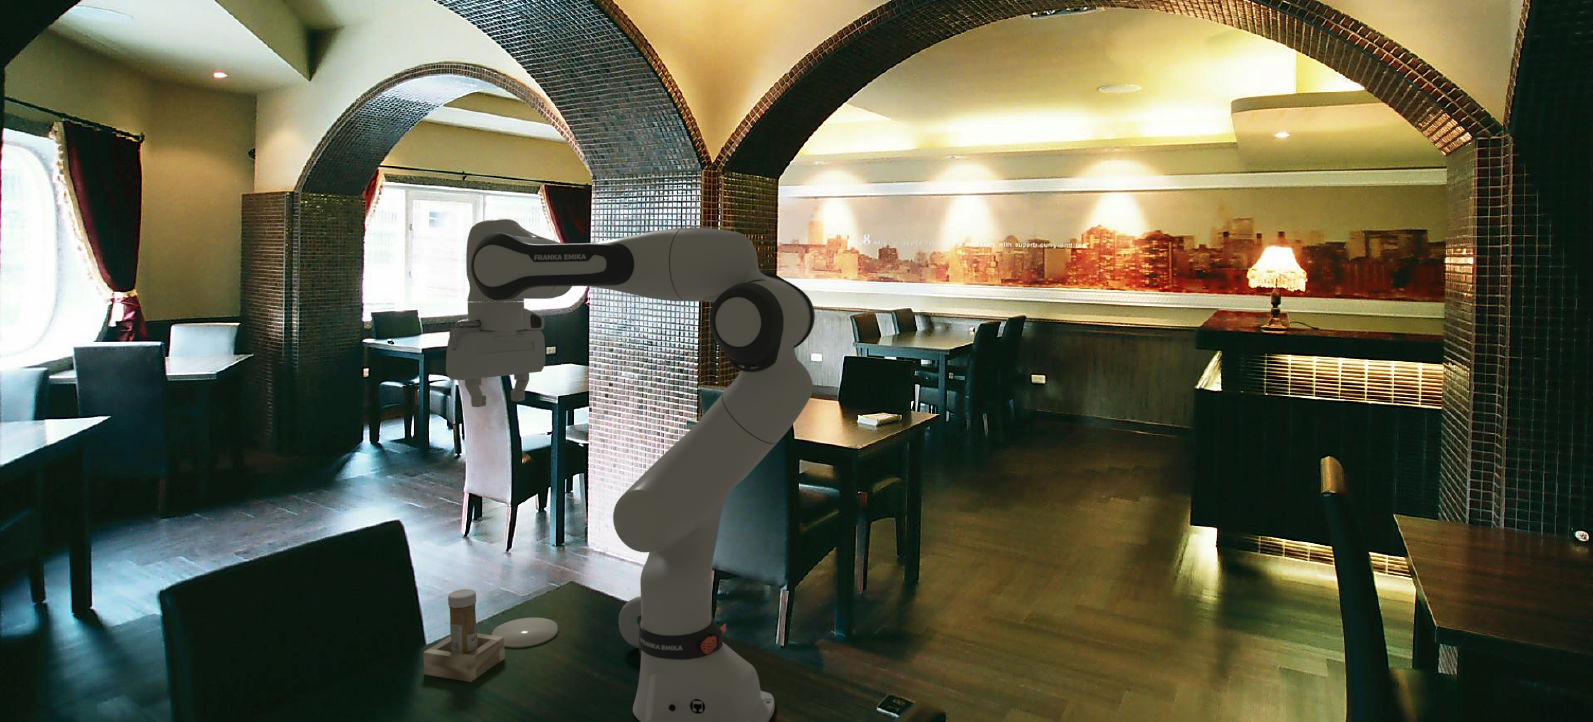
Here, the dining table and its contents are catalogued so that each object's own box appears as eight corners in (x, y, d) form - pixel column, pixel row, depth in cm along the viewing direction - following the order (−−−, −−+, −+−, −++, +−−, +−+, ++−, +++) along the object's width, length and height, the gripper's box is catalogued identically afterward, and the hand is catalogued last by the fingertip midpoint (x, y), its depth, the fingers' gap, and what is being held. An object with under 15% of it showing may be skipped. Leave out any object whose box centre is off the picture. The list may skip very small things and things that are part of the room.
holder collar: (504, 658, 163) (503, 637, 163) (470, 682, 154) (469, 659, 154) (460, 651, 166) (459, 630, 166) (424, 674, 157) (423, 652, 157)
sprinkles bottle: (482, 668, 160) (478, 594, 158) (455, 674, 157) (451, 599, 156) (475, 658, 163) (471, 586, 162) (448, 664, 161) (445, 591, 159)
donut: (616, 651, 166) (614, 598, 165) (622, 643, 170) (621, 591, 168) (669, 654, 165) (668, 601, 164) (674, 646, 168) (673, 594, 167)
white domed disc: (569, 625, 178) (569, 621, 178) (534, 651, 166) (534, 646, 166) (516, 618, 181) (516, 614, 181) (478, 642, 170) (478, 638, 170)
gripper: (466, 320, 139) (469, 411, 139) (550, 318, 157) (552, 398, 158) (434, 320, 141) (437, 409, 142) (521, 318, 160) (523, 397, 161)
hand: (499, 403), depth 150 cm, fingers open, 8 cm apart
